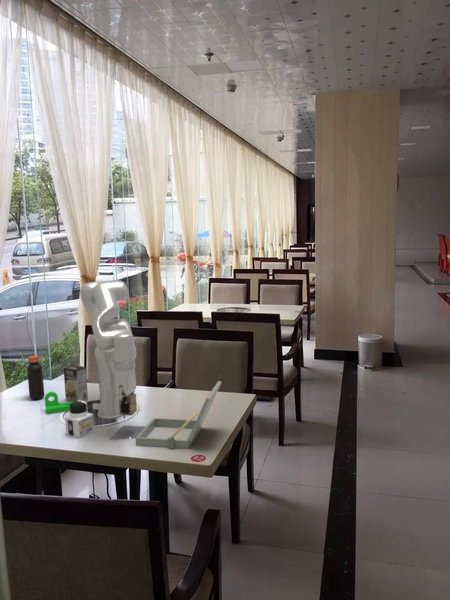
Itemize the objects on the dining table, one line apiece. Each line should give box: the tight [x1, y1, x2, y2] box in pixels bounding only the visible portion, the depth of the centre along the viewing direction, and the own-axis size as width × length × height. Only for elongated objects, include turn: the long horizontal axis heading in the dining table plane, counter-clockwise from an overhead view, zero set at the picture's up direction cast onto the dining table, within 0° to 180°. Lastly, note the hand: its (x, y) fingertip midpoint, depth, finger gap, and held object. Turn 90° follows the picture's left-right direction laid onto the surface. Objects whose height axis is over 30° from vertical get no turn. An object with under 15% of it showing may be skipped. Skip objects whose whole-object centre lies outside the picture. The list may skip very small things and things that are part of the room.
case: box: [134, 380, 222, 450], centre depth 199 cm, size 29×21×20 cm
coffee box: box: [63, 364, 89, 402], centre depth 246 cm, size 9×6×16 cm
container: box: [64, 401, 95, 439], centre depth 207 cm, size 8×8×13 cm
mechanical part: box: [44, 391, 73, 415], centre depth 236 cm, size 12×6×8 cm, turn 112°
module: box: [119, 393, 138, 416], centre depth 204 cm, size 5×5×8 cm
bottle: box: [26, 355, 45, 400], centre depth 253 cm, size 7×7×20 cm
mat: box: [108, 424, 146, 441], centre depth 206 cm, size 11×14×1 cm
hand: (128, 409), depth 205 cm, fingers closed on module, 5 cm apart
